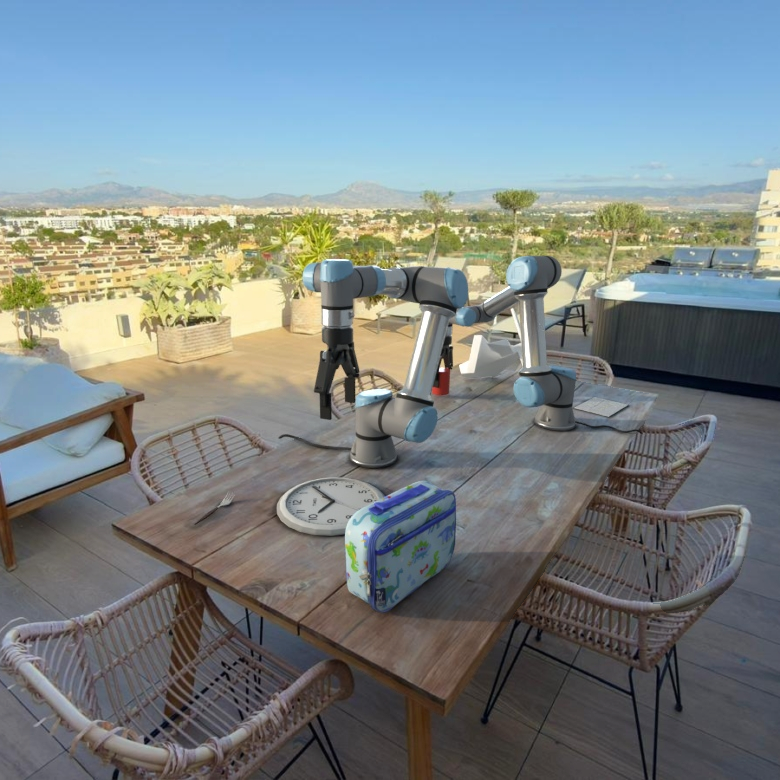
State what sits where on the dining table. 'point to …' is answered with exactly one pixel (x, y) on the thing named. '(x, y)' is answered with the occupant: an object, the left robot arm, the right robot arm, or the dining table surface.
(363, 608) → the dining table surface
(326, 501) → the wall clock
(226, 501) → the fork
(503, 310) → the right robot arm
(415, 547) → the lunch box
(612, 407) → the invitation card
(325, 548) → the dining table surface
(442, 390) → the canister
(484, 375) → the white plastic object
